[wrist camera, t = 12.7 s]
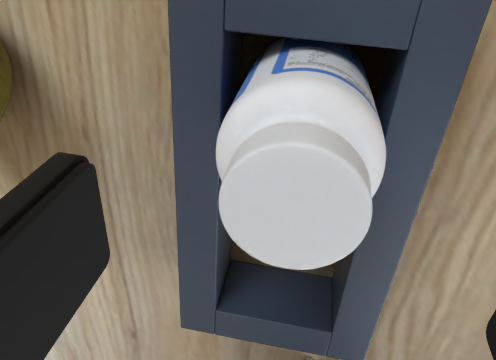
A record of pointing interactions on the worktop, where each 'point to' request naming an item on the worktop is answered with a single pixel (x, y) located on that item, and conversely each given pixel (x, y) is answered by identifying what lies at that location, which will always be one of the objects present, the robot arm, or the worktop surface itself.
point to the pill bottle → (301, 155)
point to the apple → (4, 80)
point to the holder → (383, 202)
